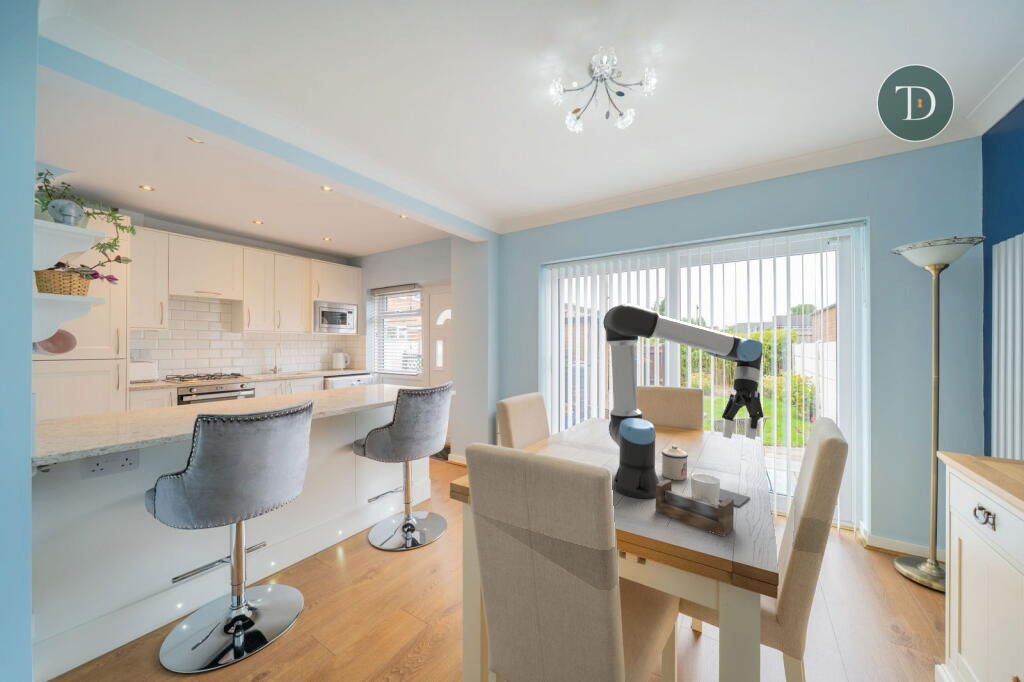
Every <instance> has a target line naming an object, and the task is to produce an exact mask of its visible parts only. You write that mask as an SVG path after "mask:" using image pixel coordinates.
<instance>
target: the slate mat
mask: <svg viewBox="0 0 1024 682" xmlns="http://www.w3.org/2000/svg"><path fill="white" fill-rule="evenodd" d="M727 498H731V499H734V507H735V506H736V508H741V507H742V506H744V504H745V503H747V502H749V500H750V499H751V497H750V496H747V495H744V494H741V493H737V492H733V491H729V490H727V489H723V488H720V492H719V501H720V502H719V503H721V502H723V501H724V500H725V499H727ZM746 501H747V502H746ZM741 505H742V506H741ZM740 506H741V507H740Z"/></svg>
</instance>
